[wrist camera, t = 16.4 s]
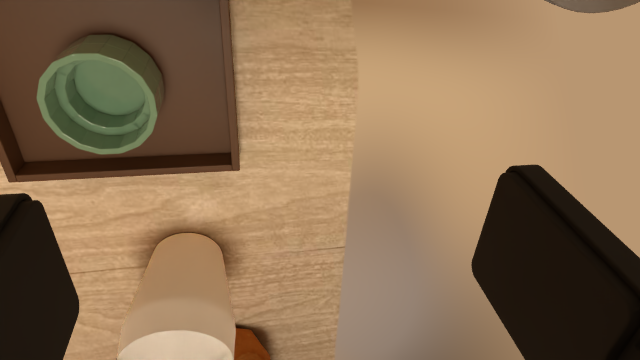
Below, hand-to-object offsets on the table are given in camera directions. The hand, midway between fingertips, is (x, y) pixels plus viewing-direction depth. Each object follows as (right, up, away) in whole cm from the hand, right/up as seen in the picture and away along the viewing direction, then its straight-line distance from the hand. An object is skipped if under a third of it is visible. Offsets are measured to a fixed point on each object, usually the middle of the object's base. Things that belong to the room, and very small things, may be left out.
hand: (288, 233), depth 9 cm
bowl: (-15, +8, +23) cm, 28 cm away
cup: (-12, -6, +34) cm, 37 cm away
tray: (-14, +9, +23) cm, 29 cm away
